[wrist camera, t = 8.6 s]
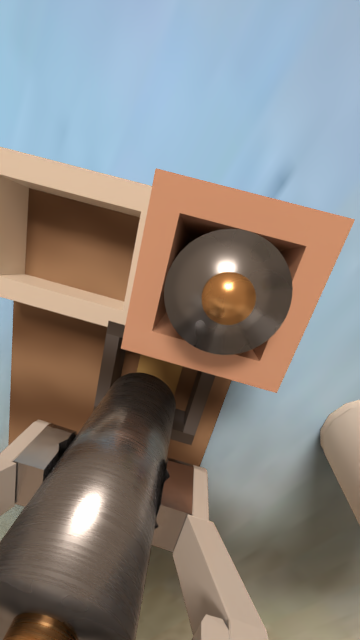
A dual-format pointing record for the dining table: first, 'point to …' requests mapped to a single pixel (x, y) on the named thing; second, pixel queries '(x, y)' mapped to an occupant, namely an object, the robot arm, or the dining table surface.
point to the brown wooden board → (92, 330)
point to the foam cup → (344, 450)
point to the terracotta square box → (216, 214)
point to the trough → (77, 184)
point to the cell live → (91, 524)
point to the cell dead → (228, 291)
